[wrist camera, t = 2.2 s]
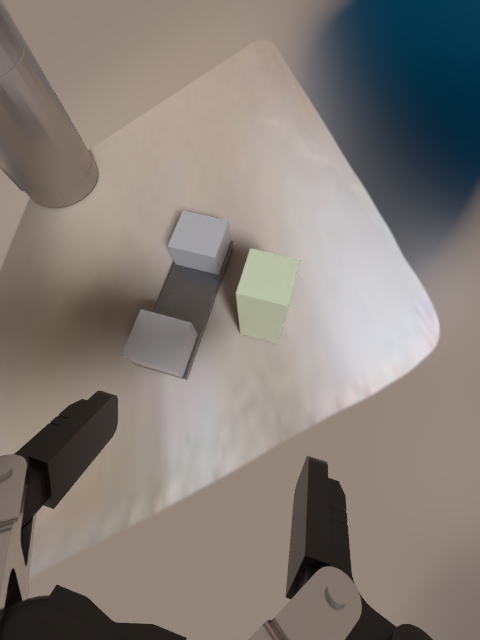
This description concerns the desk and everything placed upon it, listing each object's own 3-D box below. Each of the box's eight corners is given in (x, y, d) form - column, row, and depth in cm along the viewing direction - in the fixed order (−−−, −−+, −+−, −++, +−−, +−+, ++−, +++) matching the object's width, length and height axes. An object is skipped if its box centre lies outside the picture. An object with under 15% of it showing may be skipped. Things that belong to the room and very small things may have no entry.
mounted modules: (134, 363, 31) (121, 354, 28) (189, 230, 36) (182, 210, 33) (182, 377, 30) (174, 370, 27) (230, 240, 36) (228, 220, 32)
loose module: (240, 333, 33) (235, 293, 23) (250, 299, 34) (250, 248, 25) (277, 344, 32) (288, 306, 23) (286, 309, 34) (300, 260, 24)
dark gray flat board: (136, 364, 32) (132, 362, 31) (188, 235, 37) (187, 230, 36) (187, 379, 31) (185, 378, 30) (233, 245, 36) (232, 240, 36)
